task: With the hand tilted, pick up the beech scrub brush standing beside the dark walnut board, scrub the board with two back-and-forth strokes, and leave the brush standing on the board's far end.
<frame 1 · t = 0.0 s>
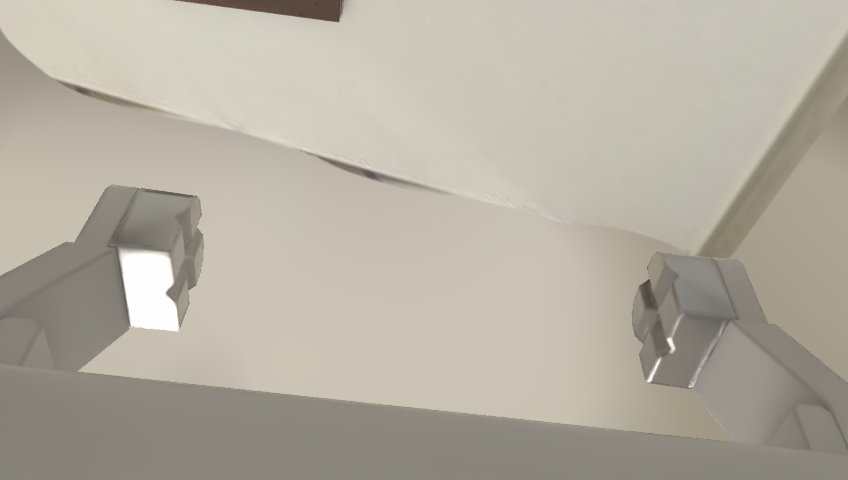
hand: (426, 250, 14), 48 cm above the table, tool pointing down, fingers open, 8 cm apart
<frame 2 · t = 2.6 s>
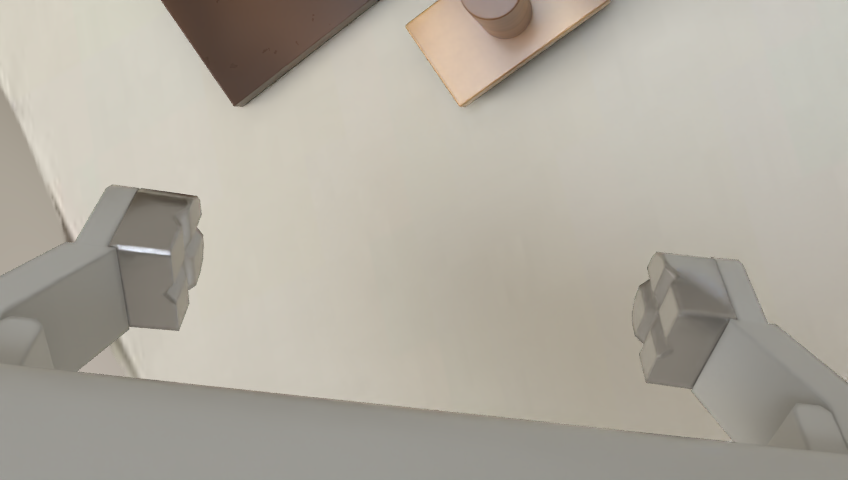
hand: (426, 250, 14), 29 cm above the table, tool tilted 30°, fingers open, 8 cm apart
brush: (509, 19, 42), on the table
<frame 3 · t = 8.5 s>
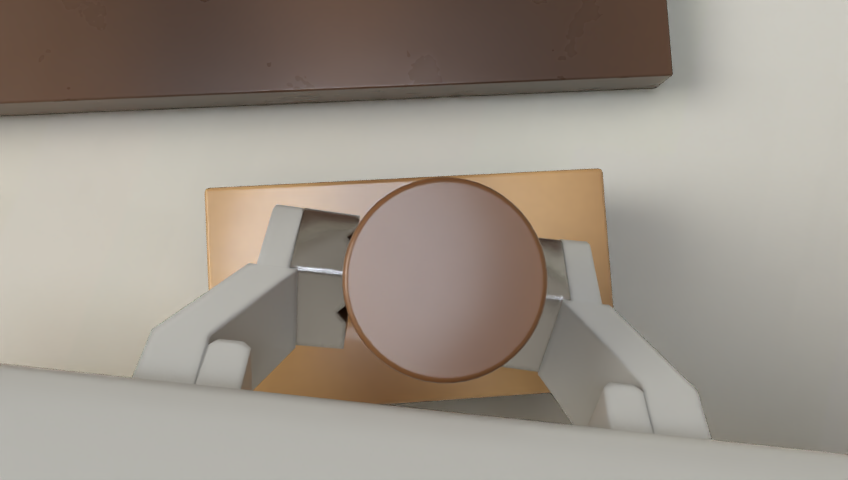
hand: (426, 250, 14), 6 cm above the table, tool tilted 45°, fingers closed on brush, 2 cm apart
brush: (408, 290, 20), on the table, touching gripper
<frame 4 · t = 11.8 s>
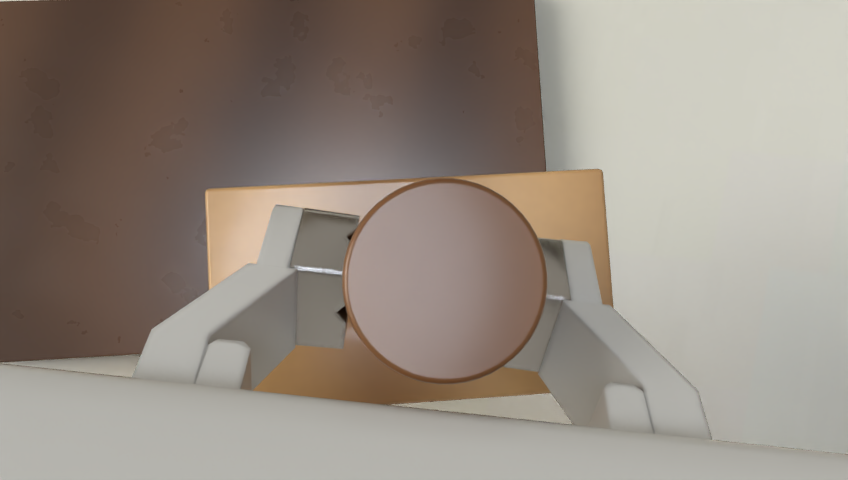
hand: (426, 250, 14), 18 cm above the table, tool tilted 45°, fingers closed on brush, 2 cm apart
board: (273, 171, 32), on the table
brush: (408, 290, 20), point 12 cm above the table, touching gripper
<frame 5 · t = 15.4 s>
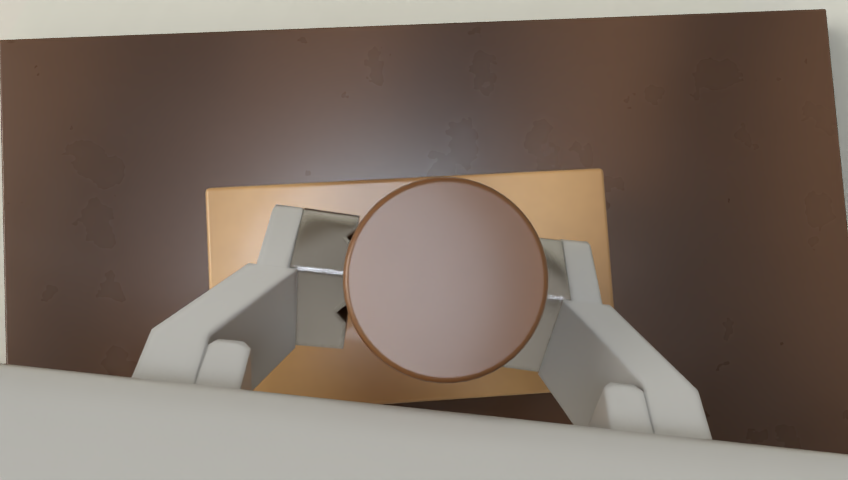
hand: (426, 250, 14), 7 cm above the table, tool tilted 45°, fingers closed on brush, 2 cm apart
board: (439, 288, 22), on the table
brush: (408, 290, 20), point 1 cm above the table, touching gripper
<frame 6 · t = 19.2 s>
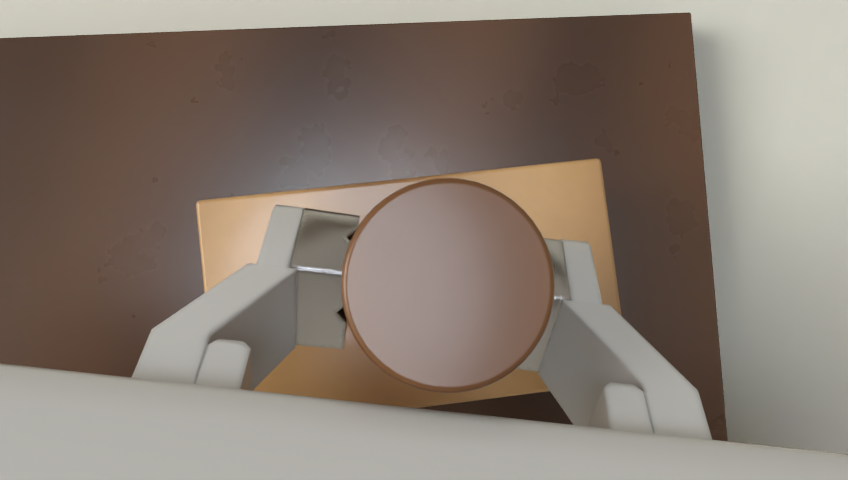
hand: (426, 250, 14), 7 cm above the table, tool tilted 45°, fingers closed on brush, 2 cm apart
board: (296, 296, 21), on the table
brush: (409, 292, 20), point 1 cm above the table, touching gripper
when the fingers open (7 cm above the table, at t = 22.1 s): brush stays where it is, resting on board.
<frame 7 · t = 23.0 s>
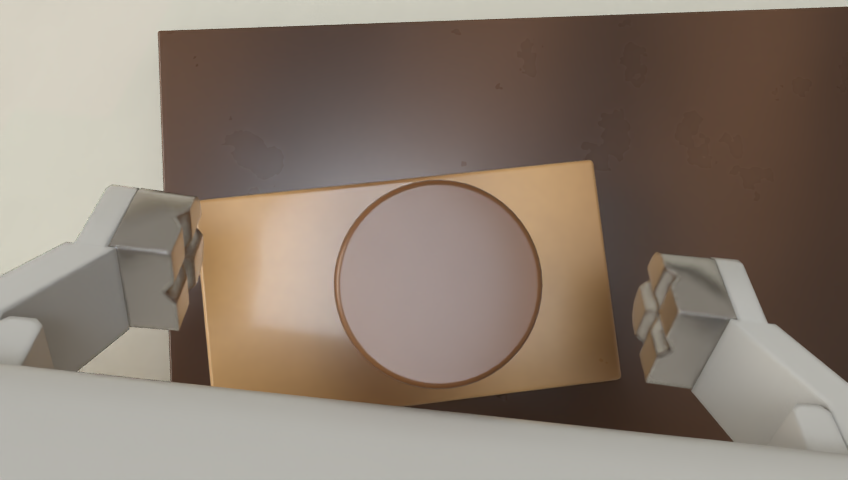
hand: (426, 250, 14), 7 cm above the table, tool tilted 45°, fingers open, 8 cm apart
board: (585, 278, 22), on the table
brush: (404, 292, 20), point 1 cm above the table, touching board
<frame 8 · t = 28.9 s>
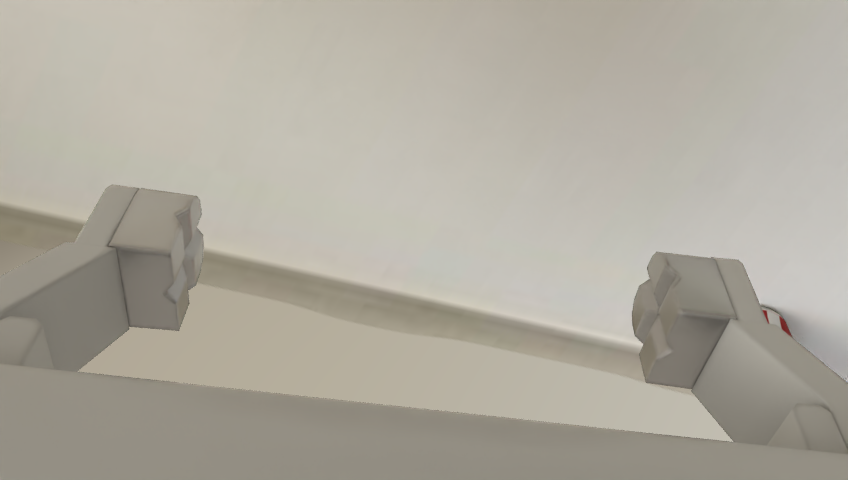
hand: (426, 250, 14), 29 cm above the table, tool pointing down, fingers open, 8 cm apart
soda can: (745, 326, 57), on the table
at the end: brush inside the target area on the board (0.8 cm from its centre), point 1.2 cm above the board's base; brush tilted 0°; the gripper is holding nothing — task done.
